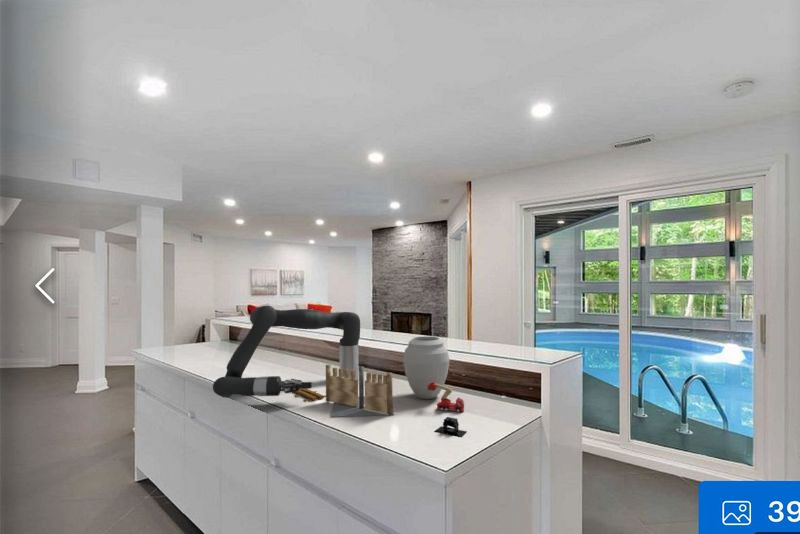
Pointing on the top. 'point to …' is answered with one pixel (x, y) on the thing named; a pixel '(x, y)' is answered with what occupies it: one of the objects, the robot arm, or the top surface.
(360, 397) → the fixed fence
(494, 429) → the top surface
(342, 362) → the robot arm
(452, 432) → the black arched bracket
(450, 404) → the toy fire truck
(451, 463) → the top surface
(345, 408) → the mat
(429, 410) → the top surface
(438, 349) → the vase
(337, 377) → the fence panel
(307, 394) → the decorative fence
